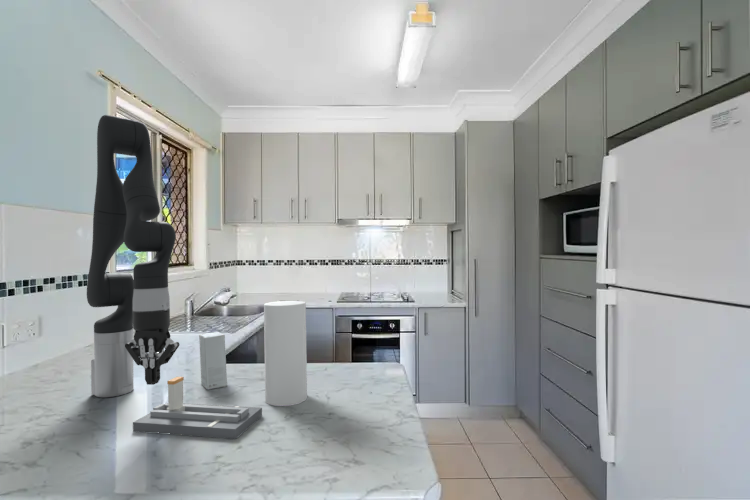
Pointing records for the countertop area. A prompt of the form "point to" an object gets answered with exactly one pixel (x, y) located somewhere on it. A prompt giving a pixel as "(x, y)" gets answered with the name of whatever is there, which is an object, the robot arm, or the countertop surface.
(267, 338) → the tall pillar cylinder
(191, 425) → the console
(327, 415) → the countertop surface
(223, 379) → the skincare box
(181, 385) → the fader tab
